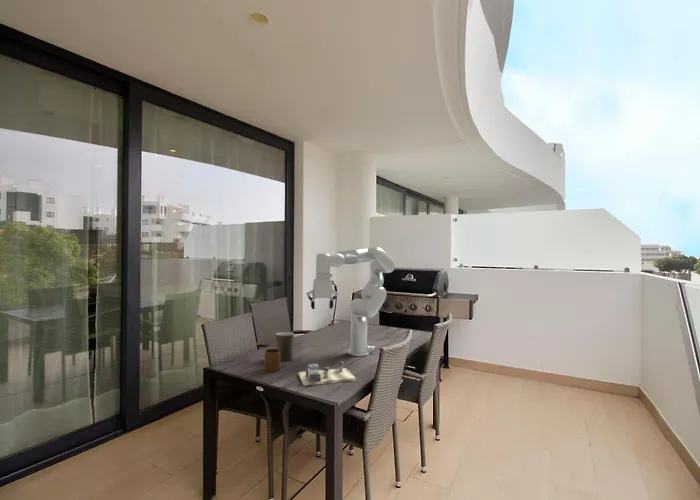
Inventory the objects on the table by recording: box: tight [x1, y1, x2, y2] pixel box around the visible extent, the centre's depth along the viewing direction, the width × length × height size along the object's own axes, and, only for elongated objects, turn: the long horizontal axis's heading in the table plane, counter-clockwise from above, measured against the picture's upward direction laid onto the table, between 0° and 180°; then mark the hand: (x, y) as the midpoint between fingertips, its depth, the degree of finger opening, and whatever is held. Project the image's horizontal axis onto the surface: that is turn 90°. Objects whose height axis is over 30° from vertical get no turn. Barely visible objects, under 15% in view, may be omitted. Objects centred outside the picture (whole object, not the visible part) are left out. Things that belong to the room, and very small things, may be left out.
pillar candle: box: [274, 331, 294, 363], centre depth 186 cm, size 10×10×15 cm
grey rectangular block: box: [307, 363, 320, 378], centre depth 154 cm, size 4×4×6 cm
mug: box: [264, 348, 281, 373], centre depth 170 cm, size 12×8×9 cm, turn 173°
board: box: [297, 360, 357, 386], centre depth 160 cm, size 24×14×6 cm, turn 109°
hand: (322, 308), depth 183 cm, fingers open, 9 cm apart
